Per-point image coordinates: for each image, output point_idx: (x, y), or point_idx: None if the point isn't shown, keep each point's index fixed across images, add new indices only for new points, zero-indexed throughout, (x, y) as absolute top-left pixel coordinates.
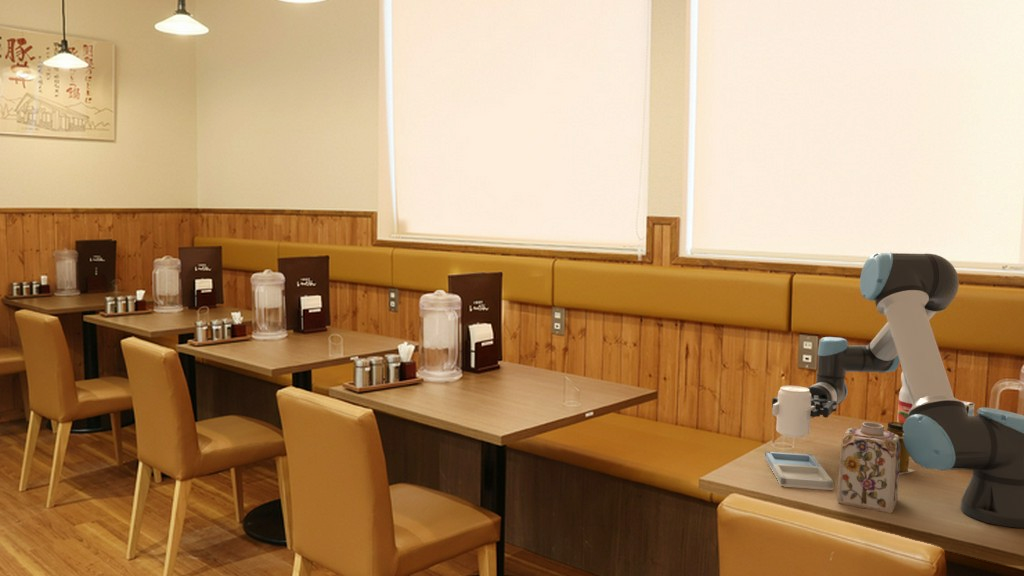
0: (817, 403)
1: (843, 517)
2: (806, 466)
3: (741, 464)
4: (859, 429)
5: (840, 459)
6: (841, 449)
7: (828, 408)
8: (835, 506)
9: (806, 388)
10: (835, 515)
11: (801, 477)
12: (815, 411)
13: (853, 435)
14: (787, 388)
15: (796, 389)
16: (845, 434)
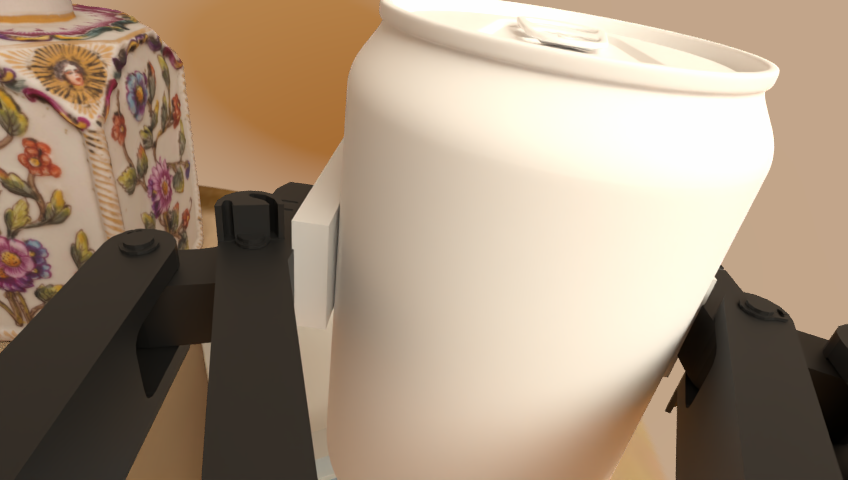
0: (249, 399)
1: (203, 191)
2: (316, 444)
3: (628, 456)
4: (60, 29)
5: (188, 111)
6: (183, 73)
7: (98, 261)
8: (213, 229)
9: (457, 32)
10: (222, 194)
11: (329, 373)
12: (281, 186)
13: (128, 15)
14: (666, 57)
15: (549, 37)
16: (154, 32)
